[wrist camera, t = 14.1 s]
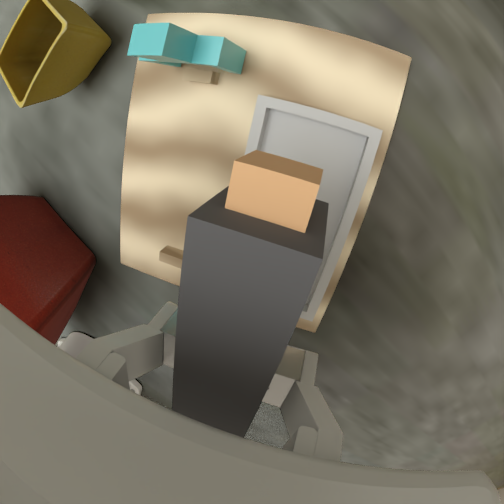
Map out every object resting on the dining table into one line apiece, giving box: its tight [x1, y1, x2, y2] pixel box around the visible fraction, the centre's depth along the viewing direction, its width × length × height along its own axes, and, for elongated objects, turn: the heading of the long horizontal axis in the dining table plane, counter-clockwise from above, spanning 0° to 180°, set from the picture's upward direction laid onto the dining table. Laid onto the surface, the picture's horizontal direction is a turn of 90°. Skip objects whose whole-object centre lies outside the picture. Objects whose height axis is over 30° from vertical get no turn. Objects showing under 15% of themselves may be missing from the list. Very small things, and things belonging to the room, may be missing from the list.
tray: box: [245, 95, 383, 321], centre depth 23 cm, size 17×9×2 cm, turn 168°
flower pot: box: [0, 0, 111, 108], centre depth 19 cm, size 9×9×9 cm
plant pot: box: [0, 195, 96, 345], centre depth 29 cm, size 19×19×17 cm
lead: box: [172, 150, 329, 438], centre depth 11 cm, size 13×3×4 cm, turn 167°
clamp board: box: [120, 13, 412, 333], centre depth 24 cm, size 26×22×3 cm
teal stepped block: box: [127, 23, 246, 74], centre depth 16 cm, size 2×6×8 cm, turn 78°
